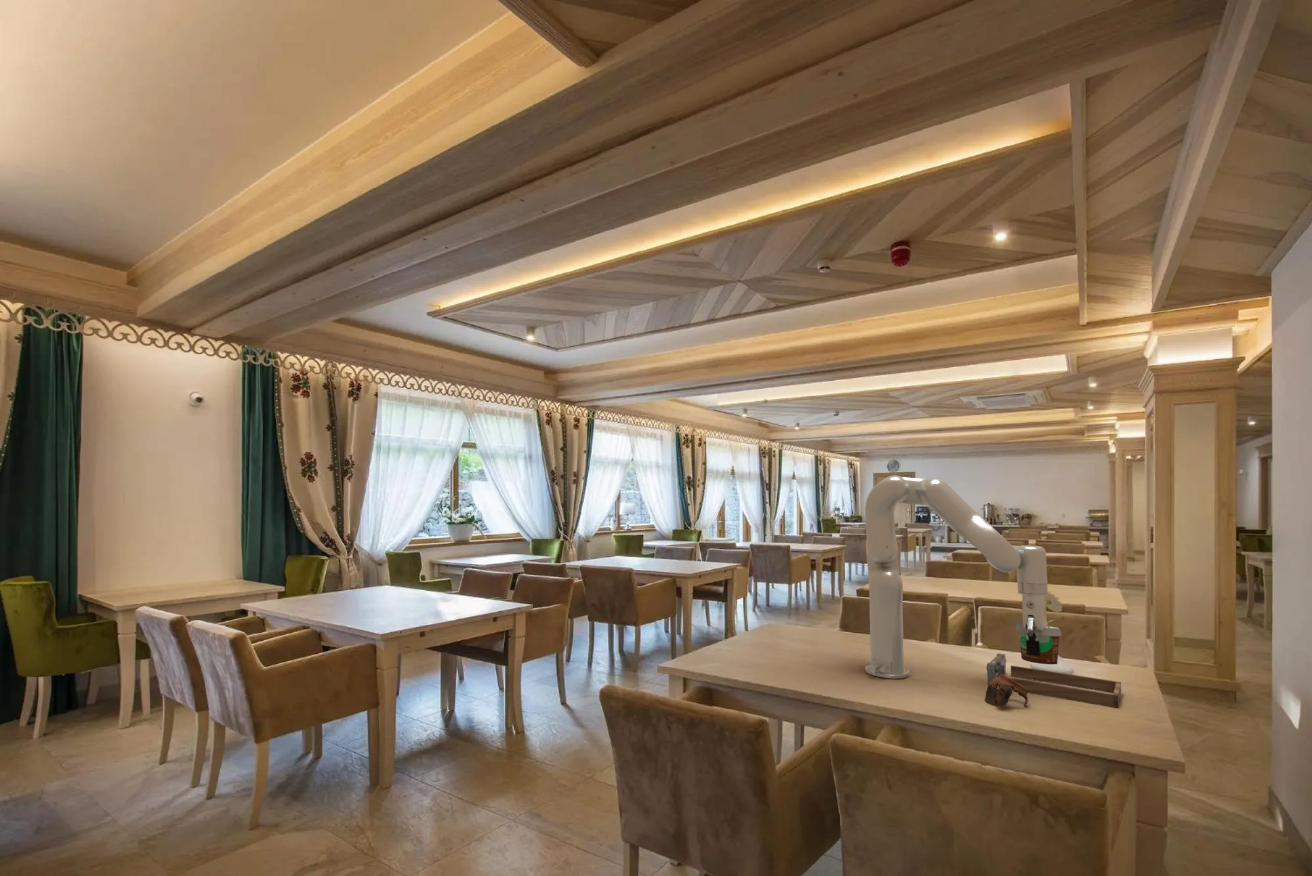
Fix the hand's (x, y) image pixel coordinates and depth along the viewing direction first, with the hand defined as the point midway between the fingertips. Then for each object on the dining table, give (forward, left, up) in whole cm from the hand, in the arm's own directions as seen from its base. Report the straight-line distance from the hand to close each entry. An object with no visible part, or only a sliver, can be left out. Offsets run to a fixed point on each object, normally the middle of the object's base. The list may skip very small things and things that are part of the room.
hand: (1035, 652), depth 187 cm
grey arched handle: (+1, +10, -9) cm, 14 cm away
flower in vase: (+19, -1, -10) cm, 21 cm away
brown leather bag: (-23, +4, -10) cm, 26 cm away
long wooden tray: (0, -5, -9) cm, 11 cm away
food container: (-1, 0, -3) cm, 3 cm away
